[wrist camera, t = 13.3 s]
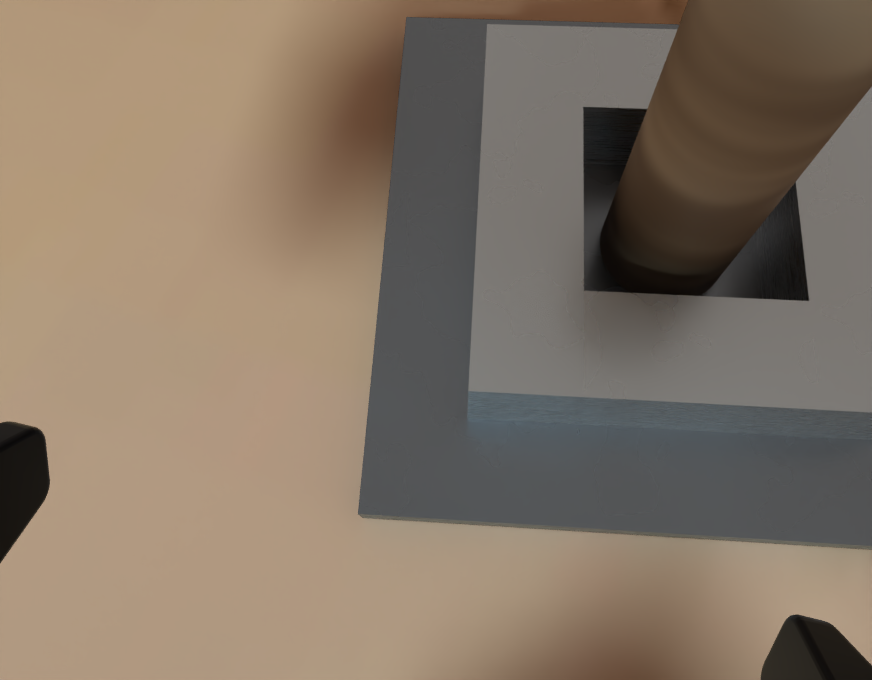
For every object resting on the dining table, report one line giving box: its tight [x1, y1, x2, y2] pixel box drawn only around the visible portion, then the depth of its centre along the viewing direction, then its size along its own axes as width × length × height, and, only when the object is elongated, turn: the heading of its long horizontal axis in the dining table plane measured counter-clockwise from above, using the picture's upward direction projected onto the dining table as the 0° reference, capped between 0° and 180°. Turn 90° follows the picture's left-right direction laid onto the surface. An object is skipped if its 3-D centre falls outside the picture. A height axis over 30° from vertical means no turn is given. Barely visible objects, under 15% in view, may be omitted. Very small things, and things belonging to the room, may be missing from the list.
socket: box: [358, 17, 872, 550], centre depth 23 cm, size 18×18×4 cm
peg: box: [600, 0, 872, 296], centre depth 18 cm, size 4×4×12 cm
